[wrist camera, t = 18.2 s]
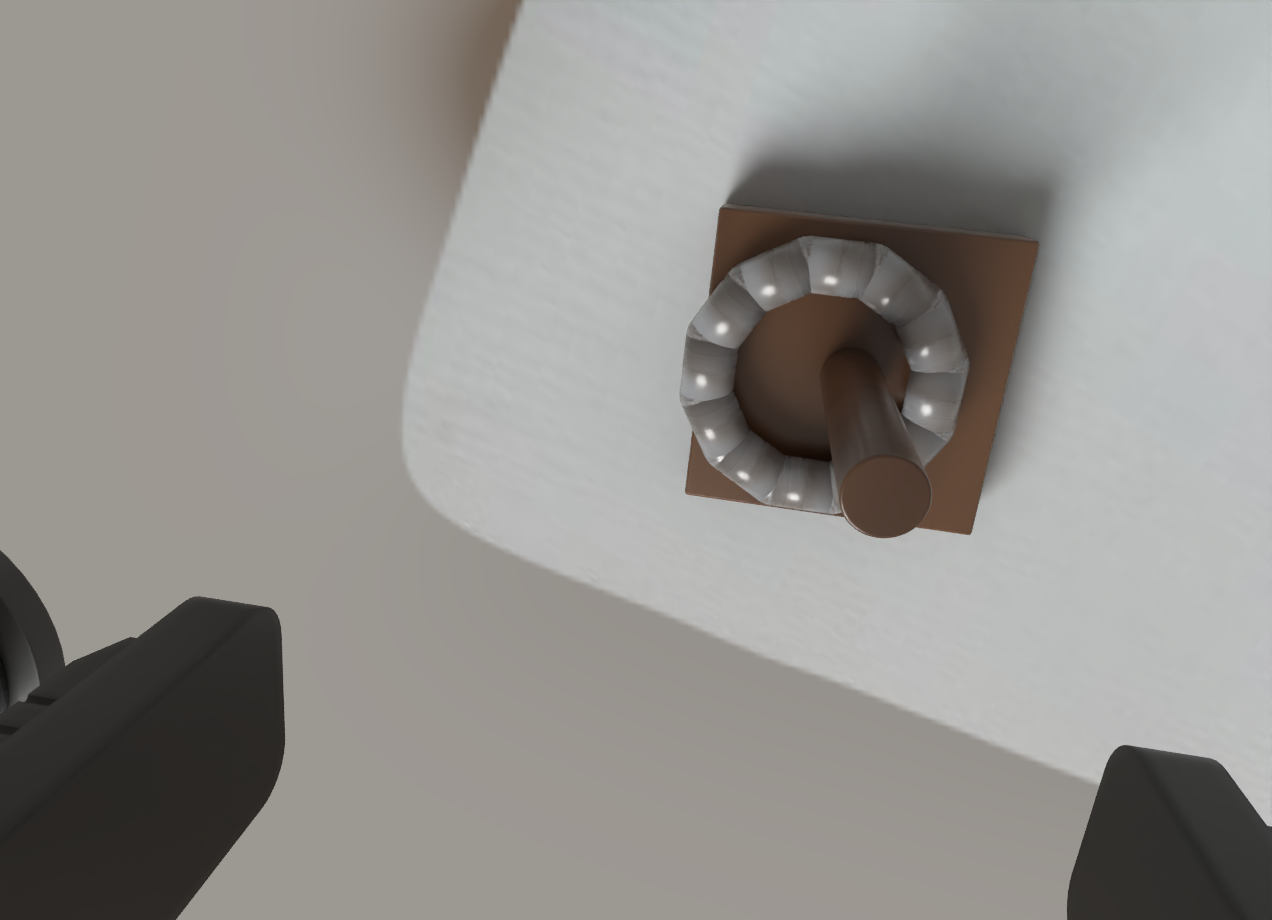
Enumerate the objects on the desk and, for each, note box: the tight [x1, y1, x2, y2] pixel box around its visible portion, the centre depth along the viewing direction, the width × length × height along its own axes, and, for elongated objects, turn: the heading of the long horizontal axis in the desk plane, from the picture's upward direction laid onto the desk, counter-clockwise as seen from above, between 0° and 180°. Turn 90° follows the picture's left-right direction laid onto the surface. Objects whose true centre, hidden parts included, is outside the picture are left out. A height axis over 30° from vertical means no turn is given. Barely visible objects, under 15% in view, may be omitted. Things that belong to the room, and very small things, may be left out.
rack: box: [685, 204, 1039, 538], centre depth 21 cm, size 8×8×10 cm
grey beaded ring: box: [680, 236, 969, 514], centre depth 24 cm, size 7×7×1 cm
